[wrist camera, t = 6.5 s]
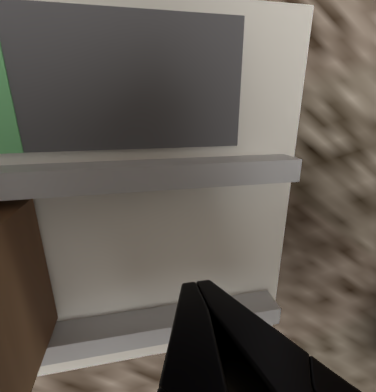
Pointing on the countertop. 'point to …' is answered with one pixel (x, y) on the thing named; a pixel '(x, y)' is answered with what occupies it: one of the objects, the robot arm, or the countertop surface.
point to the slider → (23, 297)
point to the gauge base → (150, 157)
